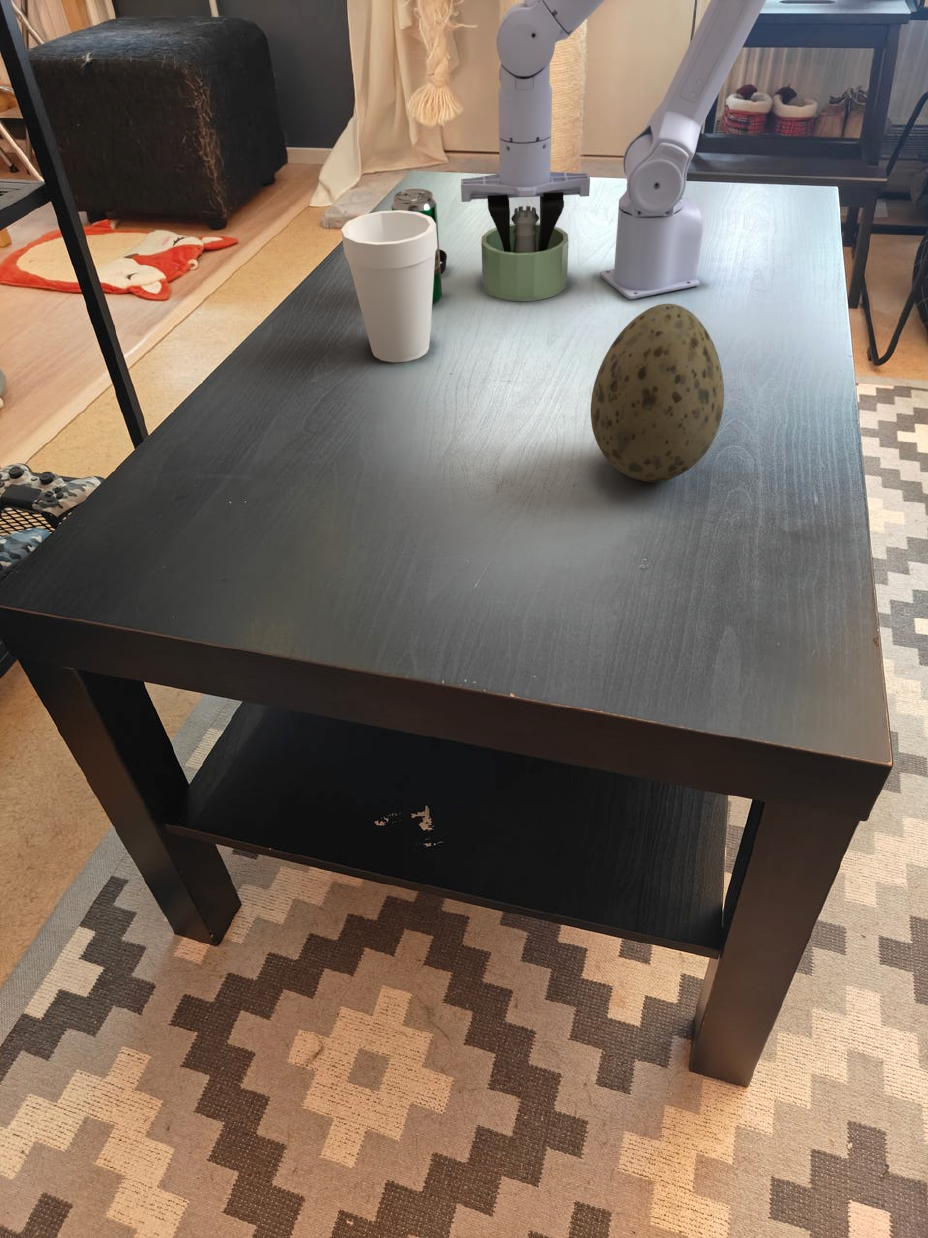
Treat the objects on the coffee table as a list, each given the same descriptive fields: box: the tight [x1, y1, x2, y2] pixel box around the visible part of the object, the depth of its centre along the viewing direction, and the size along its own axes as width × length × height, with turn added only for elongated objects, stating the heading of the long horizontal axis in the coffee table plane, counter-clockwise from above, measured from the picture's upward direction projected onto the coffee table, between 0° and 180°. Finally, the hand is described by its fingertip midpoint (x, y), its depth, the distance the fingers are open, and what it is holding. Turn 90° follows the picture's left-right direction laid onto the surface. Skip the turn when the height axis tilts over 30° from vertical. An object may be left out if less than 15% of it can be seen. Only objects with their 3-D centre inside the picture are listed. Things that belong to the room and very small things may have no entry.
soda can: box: [390, 188, 443, 306], centre depth 103 cm, size 5×5×12 cm
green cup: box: [480, 222, 569, 302], centre depth 107 cm, size 10×10×6 cm
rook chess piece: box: [510, 205, 540, 253], centre depth 106 cm, size 4×4×8 cm
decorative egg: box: [590, 303, 725, 483], centre depth 74 cm, size 11×11×15 cm
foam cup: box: [340, 210, 438, 363], centre depth 94 cm, size 10×9×13 cm
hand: (524, 260), depth 107 cm, fingers closed on rook chess piece, 3 cm apart
